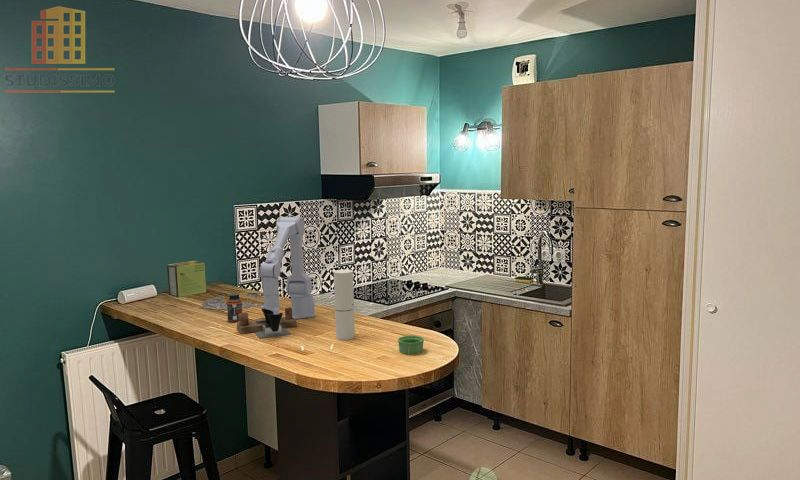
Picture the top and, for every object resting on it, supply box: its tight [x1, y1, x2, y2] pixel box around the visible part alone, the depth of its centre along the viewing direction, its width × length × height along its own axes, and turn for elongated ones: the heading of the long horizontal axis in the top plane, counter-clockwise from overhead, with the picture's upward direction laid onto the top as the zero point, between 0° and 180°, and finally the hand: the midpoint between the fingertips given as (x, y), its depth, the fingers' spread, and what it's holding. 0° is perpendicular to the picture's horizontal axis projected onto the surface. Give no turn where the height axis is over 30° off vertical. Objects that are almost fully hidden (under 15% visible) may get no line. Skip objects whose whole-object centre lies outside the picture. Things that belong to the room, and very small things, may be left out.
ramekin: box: [397, 335, 425, 355], centre depth 211 cm, size 9×9×4 cm
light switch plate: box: [261, 323, 282, 336], centre depth 235 cm, size 6×4×4 cm
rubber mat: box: [254, 328, 292, 339], centre depth 235 cm, size 12×8×1 cm, turn 116°
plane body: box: [236, 306, 298, 335], centre depth 243 cm, size 22×8×7 cm, turn 116°
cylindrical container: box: [333, 269, 356, 341], centre depth 228 cm, size 7×7×25 cm
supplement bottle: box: [226, 292, 243, 323], centre depth 255 cm, size 6×6×11 cm
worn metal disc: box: [201, 292, 264, 311], centre depth 291 cm, size 33×35×1 cm
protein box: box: [166, 260, 207, 298], centre depth 310 cm, size 10×15×16 cm
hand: (272, 328), depth 235 cm, fingers open, 7 cm apart
